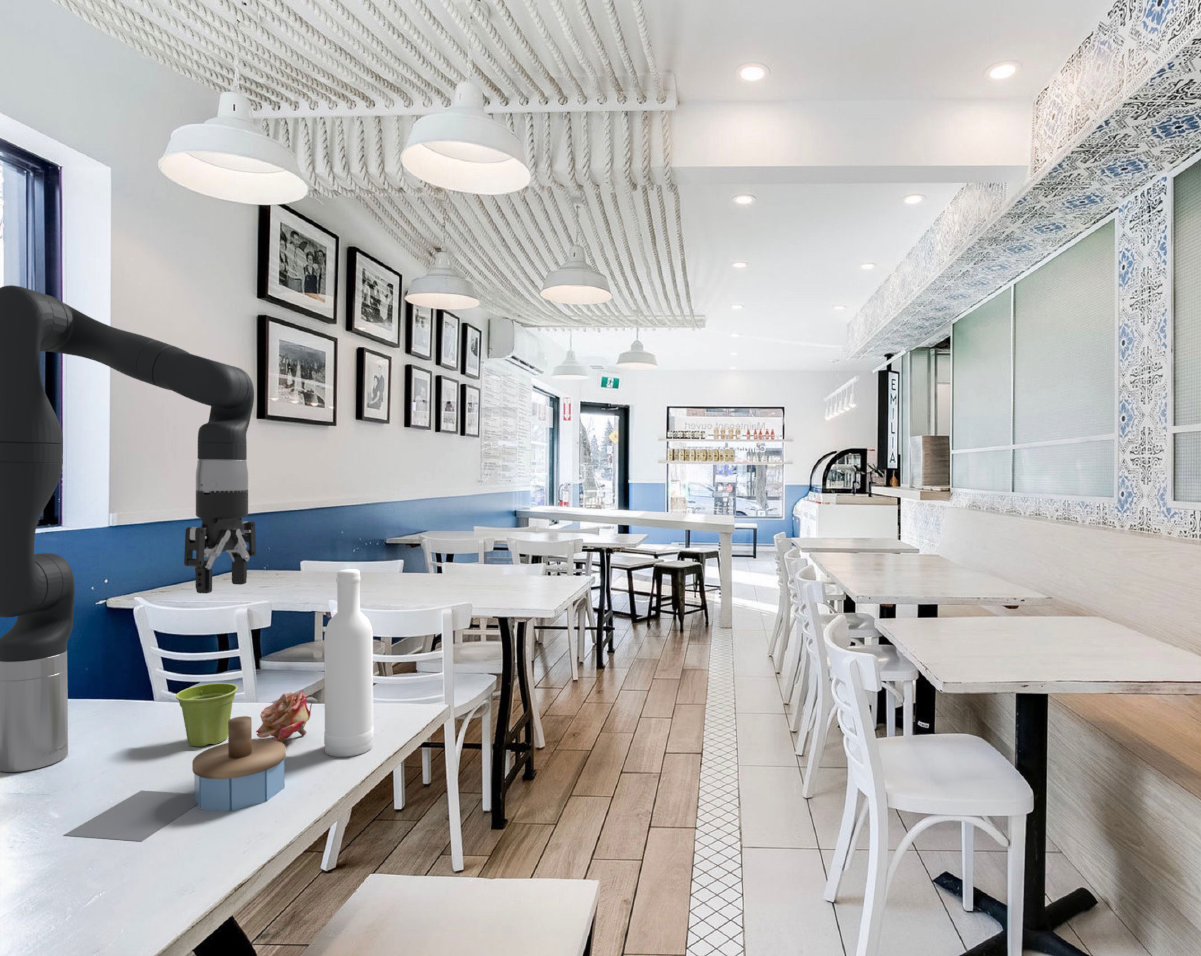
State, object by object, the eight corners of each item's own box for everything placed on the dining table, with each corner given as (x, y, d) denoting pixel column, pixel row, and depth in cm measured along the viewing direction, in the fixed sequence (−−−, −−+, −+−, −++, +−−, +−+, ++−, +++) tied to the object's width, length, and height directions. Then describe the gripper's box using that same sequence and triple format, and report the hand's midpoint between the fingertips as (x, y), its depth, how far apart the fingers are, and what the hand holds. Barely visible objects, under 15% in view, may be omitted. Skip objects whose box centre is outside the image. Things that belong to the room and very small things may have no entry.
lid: (172, 776, 100) (171, 732, 100) (228, 743, 112) (228, 704, 112) (253, 781, 98) (253, 737, 98) (301, 747, 110) (301, 708, 110)
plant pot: (212, 753, 121) (211, 701, 121) (163, 748, 123) (162, 697, 123) (250, 733, 130) (249, 684, 130) (203, 729, 132) (203, 681, 132)
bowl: (178, 811, 100) (178, 775, 100) (229, 777, 111) (229, 745, 111) (252, 816, 99) (252, 779, 99) (297, 781, 110) (296, 748, 110)
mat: (63, 839, 93) (63, 835, 93) (141, 794, 105) (141, 790, 105) (141, 845, 91) (141, 841, 91) (211, 799, 104) (210, 794, 104)
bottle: (339, 761, 117) (338, 575, 117) (315, 749, 122) (314, 570, 122) (383, 747, 123) (382, 570, 123) (358, 736, 128) (357, 566, 128)
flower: (309, 714, 135) (281, 684, 132) (335, 715, 129) (307, 683, 126) (269, 758, 128) (239, 727, 125) (296, 761, 122) (265, 728, 119)
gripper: (229, 486, 125) (229, 581, 125) (169, 489, 111) (168, 595, 111) (270, 487, 124) (269, 582, 124) (213, 489, 110) (213, 597, 110)
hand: (222, 588), depth 118 cm, fingers open, 8 cm apart
